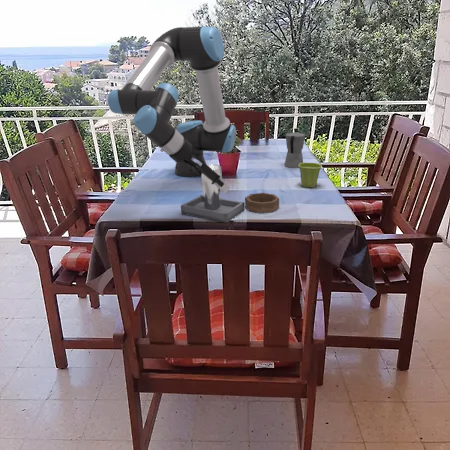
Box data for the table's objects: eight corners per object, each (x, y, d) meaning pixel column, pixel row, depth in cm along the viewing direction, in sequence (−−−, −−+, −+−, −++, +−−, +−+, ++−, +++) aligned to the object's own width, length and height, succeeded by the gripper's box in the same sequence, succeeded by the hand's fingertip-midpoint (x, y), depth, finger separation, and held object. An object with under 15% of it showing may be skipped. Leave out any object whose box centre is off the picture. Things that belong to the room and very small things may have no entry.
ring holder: (240, 209, 153) (240, 200, 152) (254, 200, 162) (254, 191, 161) (269, 214, 148) (270, 205, 147) (282, 204, 157) (282, 195, 156)
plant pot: (307, 181, 185) (308, 161, 182) (325, 185, 178) (326, 165, 175) (292, 185, 179) (293, 165, 176) (310, 190, 173) (312, 169, 170)
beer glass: (220, 213, 147) (219, 170, 141) (200, 211, 149) (199, 169, 143) (223, 205, 154) (223, 164, 148) (204, 204, 155) (203, 164, 149)
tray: (181, 213, 150) (180, 205, 149) (201, 202, 160) (201, 195, 159) (226, 222, 142) (226, 214, 141) (244, 210, 152) (244, 202, 151)
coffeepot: (287, 162, 216) (288, 125, 210) (305, 163, 213) (308, 126, 207) (280, 169, 203) (281, 131, 196) (300, 171, 200) (302, 132, 193)
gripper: (156, 149, 144) (201, 188, 157) (182, 162, 128) (229, 204, 141) (170, 132, 144) (213, 172, 158) (197, 142, 128) (243, 185, 142)
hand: (221, 187), depth 150 cm, fingers open, 7 cm apart
